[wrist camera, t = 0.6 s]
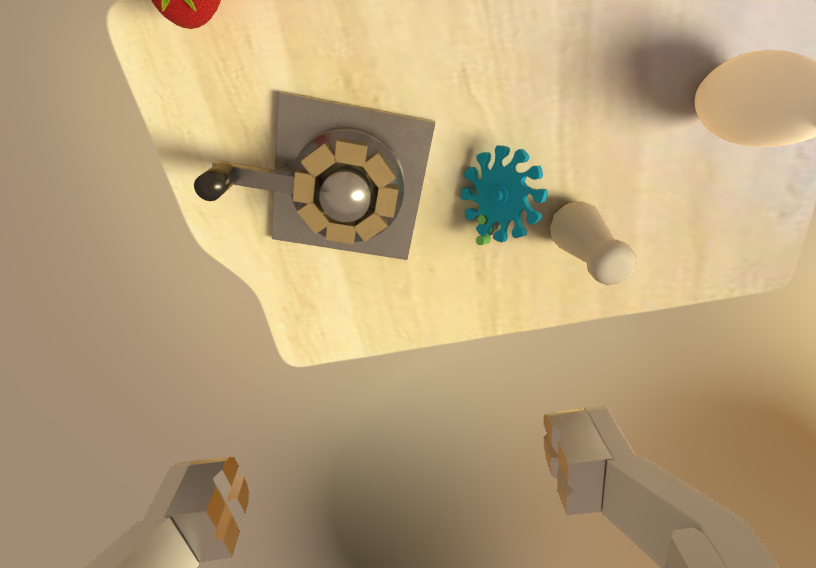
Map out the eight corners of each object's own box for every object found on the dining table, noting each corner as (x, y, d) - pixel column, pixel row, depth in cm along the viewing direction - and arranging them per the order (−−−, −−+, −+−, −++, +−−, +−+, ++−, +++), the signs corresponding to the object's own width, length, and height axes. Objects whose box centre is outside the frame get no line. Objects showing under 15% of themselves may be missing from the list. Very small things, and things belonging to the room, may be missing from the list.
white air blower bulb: (659, 97, 47) (795, 125, 31) (726, 31, 44) (911, 26, 29) (700, 146, 50) (845, 195, 34) (765, 87, 47) (955, 111, 31)
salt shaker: (603, 205, 53) (662, 251, 41) (577, 248, 55) (626, 302, 44) (559, 189, 52) (607, 231, 40) (535, 233, 54) (574, 285, 43)
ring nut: (217, 115, 44) (191, 126, 38) (404, 149, 46) (406, 164, 40) (218, 216, 48) (195, 238, 43) (387, 243, 50) (387, 268, 45)
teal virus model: (482, 127, 46) (560, 177, 42) (511, 129, 51) (585, 174, 46) (440, 217, 53) (505, 269, 48) (470, 212, 57) (531, 259, 52)
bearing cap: (280, 91, 46) (266, 98, 40) (434, 121, 48) (440, 131, 42) (273, 236, 53) (260, 258, 48) (407, 257, 55) (408, 280, 50)
